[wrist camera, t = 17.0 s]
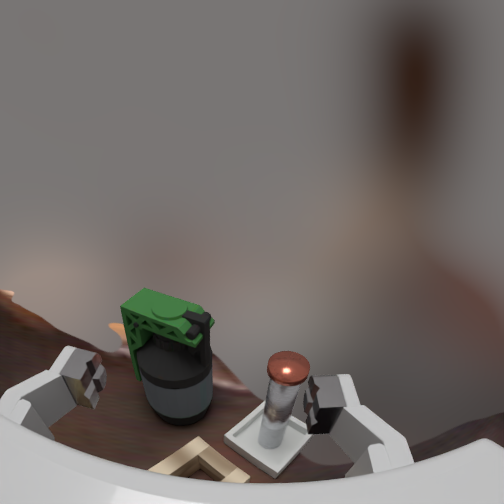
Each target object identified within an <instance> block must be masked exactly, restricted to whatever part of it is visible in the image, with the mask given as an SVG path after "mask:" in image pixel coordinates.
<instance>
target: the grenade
mask: <svg viewBox="0 0 504 504" xmlns="http://www.w3.org/2000/svg"><path fill="white" fill-rule="evenodd" d="M120 307H121V313H122V317H123V323H124V328H125V333H126V337H127V342H128V346H129V351H130V355H131V359H132V363H133V367H134V371H135V375H136V378H137V380H139V381H141V380H142V382H143V385H144V389H145V393H146V396H147V399H148V401H149V403H150V405H151V406H152V408H153V409H154V410H155V411H156V413H157V414H158V415H159V416H160V417H161V418H162V419H163V420H165V421H166V422H168V423H171V424H174V425H182V426H183V425H190V424H193V423H195V422H197V421H199V420H200V419H201V418H202V417H203V416H204V415H205V413H206V411H207V409H208V407H209V404H210V402H211V399H212V393H213V385H212V350H211V347H210V328H211V327H212V326H213V324H214V319H213V318H211V315H210V314H209V313H208V312H205V311H204V310H203V308H202V307H201V306H200V305H197V304H194V303H190V302H187V301H184V300H181V299H178V298H174V297H171V296H168V295H165V294H162V293H159V292H156V291H153V290H150V289H146V288H143V289H142V290H141V291H139V292H138V293H137V294H135V295H134V296H133V297H131V298H130V299H129V300H127V301H126V302H125V303H124V304H122V305H121V306H120Z"/></svg>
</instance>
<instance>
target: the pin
mask: <svg viewBox="0 0 504 504" xmlns="http://www.w3.org/2000/svg"><path fill="white" fill-rule="evenodd" d="M309 370H310V364H309V362H308V361H307V359H306V358H305V357H304V356H302V355H300V354H298V353H296V352H291V351H282V352H278V353H275V354H274V355H272V356H271V357H270V359H269V361H268V366H267V373H268V376H269V377H270V381H269V386H268V391H267V396H266V401H265V406H264V411H263V416H262V421H261V426H260V431H259V435H258V443H259V444H260V445H261V446H262V447H263V448H265V449H275V448H278V447H279V446H280V445H281V443H282V440H283V437H284V434H285V431H286V429H287V426H288V423H289V420H290V417H291V414H292V410H293V407H294V404H295V401H296V398H297V395H298V391H299V388H300V385H301V383H303V382H304V381H305V380H306V379H307V376H308V374H309Z"/></svg>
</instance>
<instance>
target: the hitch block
mask: <svg viewBox="0 0 504 504" xmlns="http://www.w3.org/2000/svg"><path fill="white" fill-rule="evenodd" d="M198 469H202V470H203V471H204V472H205V473H206V474H207V475H209V476H210V477H211V478H212V479H214V480H215V481H219V482H232V483H249V481H250V476H249V475H247V474H246V473H244V472H243V471H242V470H240V469H239V468H238V467H236V466H235V465H234V464H232V463H231V462H230V461H228V460H227V459H226V458H224V457H223V456H222V455H221V454H219V453H218V452H217V451H216V450H214V449H213V448H212V447H211V446H209V445H208V444H207V443H206V442H205V441H203V440H202V439H201V438H200V437H199V436H198V437H197V438H195V439H194V440H192V441H191V442H189V443H188V444H187V445H185V446H184V447H182V448H181V449H179V450H178V451H176V452H175V453H173V454H172V455H170V456H169V457H167V458H166V459H164V460H163V461H161V462H160V463H158V464H157V465H155V466H153V467H152V468H150V469H149V470H147V471H151V472H156V473H161V474H166V475H172V476H178V477H185V478H187V477H189V476H190V475H192V474H193V473H194V472H196V471H197V470H198Z"/></svg>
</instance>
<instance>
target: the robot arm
mask: <svg viewBox="0 0 504 504" xmlns="http://www.w3.org/2000/svg"><path fill="white" fill-rule="evenodd" d="M101 361H102V359H101V357H100V354H97V353H94V352H90V351H86V350H82V349H79V348H75V347H71V346H66V347H65V348H64V349H63V351H62V352H61V354H60V355H59V356H58V358H57V359H56V361H55V362H54V364H53V365H52V367H51V368H50V370H49V371H48V370H45V371H43V372H41V373H39V374H37V375H35V376H33V377H31V378H30V379H28V380H26V381H24V382H22V383H20V384H18V385H16V386H14V387H12V388H10V389H8V390H6V392H5V393H4V395H3V396H2V398H1V399H0V504H504V448H503V447H501V446H499V445H498V444H496V443H494V442H493V441H490V440H488V439H480V440H477V441H475V442H472V443H470V444H468V445H465V446H463V447H460V448H458V449H455V450H453V451H450V452H447V453H444V454H442V455H439V456H436V457H433V458H430V459H426V460H423V461H420V462H416V463H414V461H413V458H412V455H411V452H410V450H409V447H408V444H407V441H406V439H405V437H404V436H402V435H401V434H400V433H398V432H397V431H396V430H395V429H393V428H392V427H391V426H389V425H388V424H387V423H385V422H384V421H383V420H382V419H381V418H379V417H378V416H377V415H375V414H374V413H373V412H372V411H371V410H369V409H368V408H367V407H365V406H364V405H362V406H361V405H360V402H359V399H358V396H357V393H356V390H355V387H354V384H353V381H352V379H351V376H350V375H349V374H343V375H312V376H311V377H310V378H309V381H308V384H309V387H308V388H307V389H306V390H305V394H304V401H303V402H304V412H305V413H306V414H307V415H308V417H307V419H306V426H307V432H308V434H329V435H330V436H331V437H332V439H333V440H334V441H335V442H336V443H337V444H338V445H339V446H340V448H341V449H342V450H343V451H344V452H345V453H346V454H347V455H348V456H349V458H350V459H351V460H352V461H353V462H354V463H355V464H354V465H353V466H352V468H351V469H350V470H349V471H348V472H347V473H346V475H345V477H346V478H341V479H333V480H325V481H314V482H301V483H274V484H259V483H232V482H219V481H208V480H199V479H192V478H185V477H178V476H172V475H166V474H161V473H156V472H151V471H147V470H142V469H138V468H134V467H130V466H126V465H122V464H119V463H115V462H112V461H108V460H105V459H102V458H99V457H96V456H93V455H90V454H87V453H84V452H81V451H78V450H76V449H73V448H70V447H68V446H65V445H63V444H60V443H58V442H56V441H54V439H55V438H54V435H53V434H52V433H51V431H50V430H49V429H48V427H49V426H51V425H52V424H53V423H55V422H56V421H57V420H59V419H60V418H61V417H62V416H64V415H65V414H66V413H68V412H69V411H70V410H72V409H73V408H74V407H76V406H77V405H80V406H84V407H87V408H91V409H94V408H95V406H96V404H97V402H98V400H99V394H98V392H100V391H102V390H103V389H104V386H105V384H106V371H105V368H104V367H103V366H102V365H101V364H100V363H101ZM76 404H77V405H76Z"/></svg>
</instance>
